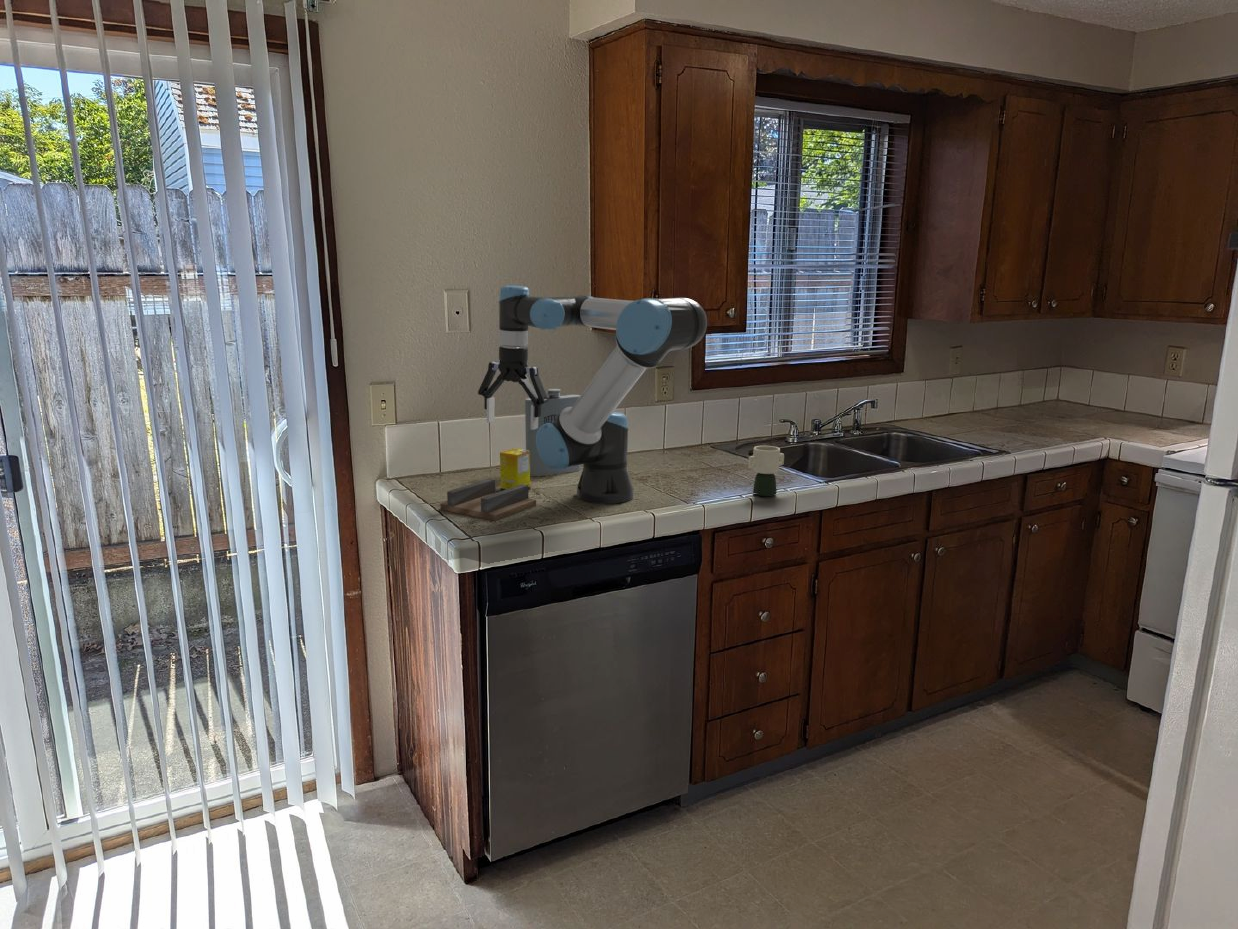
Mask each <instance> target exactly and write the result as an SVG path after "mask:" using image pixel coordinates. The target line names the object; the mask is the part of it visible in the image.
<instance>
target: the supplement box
mask: <svg viewBox="0 0 1238 929" xmlns="http://www.w3.org/2000/svg"><path fill="white" fill-rule="evenodd" d="M499 463H500V465H499V467H500V468H499V470H500V492H501V491H503V490H506V489H509V488H512V487H515V486H518V485H521V484H524V485H528V491H530V490H531V477H530V451H528V450H526V449H520V448H514V447H513V448H510V449H507V450H503V451H500V452H499Z"/></svg>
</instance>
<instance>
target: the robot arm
mask: <svg viewBox="0 0 1238 929" xmlns="http://www.w3.org/2000/svg"><path fill="white" fill-rule="evenodd" d="M498 306H499V311H498V313H499V315H498V316H499V322H498V323H499V324H498V327H499V328H498V344H499V347H498V360H499V362H497V361H496V360H495V361H490V362H488V367H487V371H486V374H485V376H484V377H483V380H482V382H481V383H480V384H481V385H480V386H479V389H478V391H477V394H478V395H479V396H482V397H483V399H484V404H483V405H484V407H483V408H484V409H485V410H486V423H488V424H489V423H490V424H491V423H492V422H493V423H494V422H495V412H496V411H495V407H496V406H495V405H496V404H495V403H496V402H495V401H496V397H494V394H495V393H496V391H498V390H499V389H500V386H502V385H503V384H504V382H513V383H517V384H519V385H521V387H522V388H523V390H524V392H525V393H526V395H527V396H528V398H530V399H531V401H532V402H533V405H531V426H530V430H534V429H537V428H538V417H540V416H541V405H542V404H544V403H547V402H548V398H547V397H548V396H547V395H546V393H547V392H546V391H545V388H544V386H543V383H542V380H541V378H540V375H539V368H538V367H537V366H532V367H531V366H529V367H528V358H529V357H528V355H529V352H528V351H529V348H528V347H527V346H528V345H529V327H532V328H538V329H541V330H550V331H551V330H556V329H558V328H559V327H560V328H561V327H586V328H589V327H591V328H596V329H603V330H604V329H605V330H614V331H615V333H616V334H615V344H616V346H615V348H614V349H613V351H612V352H611V353H610V355H609V356H608V357H607V359H606V360H605V362H604V363H603V364H602V365H601V367H600V368H599V369H598V371H597V372H596V373H595V375H594V376H593V378H592V380H591V381H590V382H589V384H588V385H587V386H586V388H584V391H583V392H582V393H581V395H580V397H579V399H578V400H577V401H576V403H575V404H574V406H573V407H567V408H565V409H563V410H562V411H561V413H560V414H559V416H558V417H557V418H556V420H555V421H554V422H552V423H546V424H544V425H542V426H541V427H540V428H539V429H538V431H537V434H536V445H537V451H538V454H539V456H540V458H541V460H542V461H543V462H544V464H545V465H547V466H548V467H549V468H552V469H565V468H568V467H572V466H577V465H581V466H582V465H583V468H582V471H581V475H580V477H579V481H578V483H577V487H576V498H577V499H578V500H580V501H583V502H587V503H591V504H600V505H601V504H605V505H606V504H607V505H609V504H611V505H612V504H619V503H623V502H625V503H626V502H628V501H630V500H632V499H633V498H634V485H633V483H632V479H631V476H630V474H629V470H628V446H629V445H628V444H629V443H628V442H629V440H628V438H629V428H628V418H627V416H626V415H625V414H624V413H623V412H619V411H615V410H616V409H617V407H619V405H620V404H621V403H622V401H623V400H624V398H625V397H626V396H627V395H628V393H629V392H630V391H631V390H632V388H633V387H634V385H636V383H637V382H638V380H639V379H640V378H641V377H642V375H643V374H644V373H645V371H646V370H649V369H655V368H657V367H658V366H659V364H660V363H661V362H662V361H663V360H664V358H665V357H666V356H667V355H668V353H669V352H671V351H679V350H687V349H690V348H692V347H694V346H696V345H697V344H698V343H699V342H701V340H702V339H703V338H704V336H705V334H706V332H707V327H708V318H707V314H706V311H705V310H704V308H703V307H702V306H701V305H700V303H698V302H697V301H695V300H693V299H691V298H687V297H669V298H667V297H666V298H653V297H646V298H641V299H637V300H626V299H614V298H613V299H612V298H601V297H594V296H590V295H578V296H577V295H575V296H545V297H543V296H542V297H539V296H532V295H531V296H530V289H529V288H528V287H527V286H526V285H525V286H523V285H503V286H501V288H500V290H499V301H498ZM498 370H499V372H500V373H499V374H498V376H497V377H496V379H495V380H494V377H495V376H496V373H497V371H498ZM527 374H528V376H529V377H528V376H527ZM493 380H494V381H493ZM530 380H531V382H530ZM492 382H493V383H492ZM491 383H492V384H491Z"/></svg>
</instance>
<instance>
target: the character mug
mask: <svg viewBox="0 0 1238 929" xmlns="http://www.w3.org/2000/svg"><path fill="white" fill-rule="evenodd" d="M752 452H753V454H752V455H751V456H749V457H748V463H747V464H748V469H752V470H753V472H755V473H756V475H755V478H754V484H753V492H752V494H755V495H758V496H759V497H761V496H763V497H772V496H775V495H777V479H776V475H775V474H777V473H779V470H780V466H782V465H784V464H785V463H784V462H785V454H784V453H782V452H781V448H780V447H778V446H773V445H756V446H754V447H753V451H752Z"/></svg>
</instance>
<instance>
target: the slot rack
mask: <svg viewBox="0 0 1238 929" xmlns="http://www.w3.org/2000/svg"><path fill="white" fill-rule="evenodd" d="M446 495H447V499H446V500H447V501H444V502H441V503H440V504H439V505H440V506H439V508H440V509H439V510H442V511H448V512H452V513H455V514H456V513H457V514H460V515H466V516H470V515H471V517H475V516H476V518H479V517H480V519H485V520H490V521H495V522H497V521H499V520H503V519H505V518H507V517H509V515H510V516H512V515H515V514H517V512H518V513H520V512H519V511H521V512H523V511H525V510H524V509H526V510H528V509H531V508H533V506H534V507H536V506H537V499H533V498H529V490H528V485H524V484H521V485H518V486H515V487H512V488H509V489H506V490H503V491H501V490H500V491H498V492H496V479H495V478H486V479H484V480H479V481H477V482H473V483H469V484H467V485H466V484H465V486H460V487H457V488H454V489H451V490H447V492H446ZM522 510H523V511H522ZM506 516H507V517H506Z"/></svg>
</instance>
